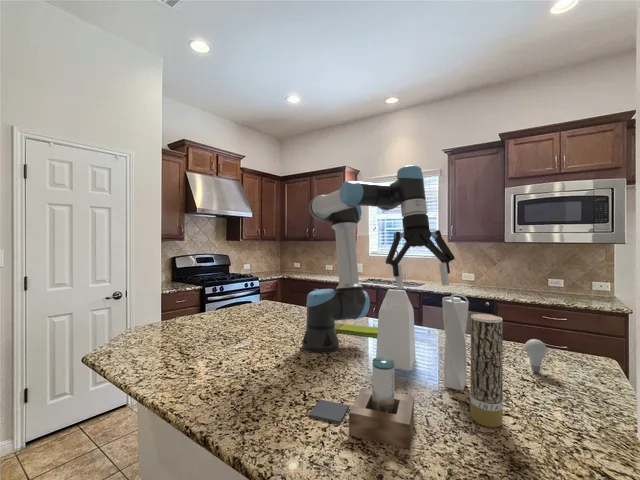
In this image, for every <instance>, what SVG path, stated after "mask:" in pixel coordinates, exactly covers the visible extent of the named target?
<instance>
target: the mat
mask: <svg viewBox="0 0 640 480" xmlns="http://www.w3.org/2000/svg"><path fill="white" fill-rule="evenodd" d="M349 408H350V404H346V403H345V404H344V403H339V402H335V401H329V400H324V399H319V400H318V402H317V403H316V404H315V406H314V407H313V408H312V410H311V411H310V413H309V414H308V417H309V418H312V419H316V420H322V421H326V422H328V423H335V424H340V425H341V423H342V421H343V420H344V418H345V417H346V414H347V413H348V412H349V411H348V410H349Z"/></svg>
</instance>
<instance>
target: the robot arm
mask: <svg viewBox="0 0 640 480" xmlns="http://www.w3.org/2000/svg"><path fill="white" fill-rule="evenodd" d="M396 178H397V179H396V180H395V181H394V182H392V183H390V184H387V183H386V184H385V183H373V182H365V181H357V180H351V181H349V180H347V181H344V182H343V183H342V185H341V186H340V188H339V189H338V190H335V191H333V192H330V193H328V194H319V195H317V196H314V197H313V198H311V201H310V203H309V205H308V210H309V213H310V215H311V217H313V218H314V219H315V220H316V221H318V222H321V223H331V228H332V229H333V230H334V231H335V232H334V233H335V244H336V245H335V247H336V259H337V261H336V262H337V274H338V285H337V286H336V288H335V290H334V289H333V288H321V289H316V290H312V291H310V292H309V293H307V296H306V304H305V305H306V329H305V332H304V334H303V339H302V341H301V348H302V349H303V351H305V352H309V353H314V354H329V353H333V352H336V351H337V350H339V348H340V342H339V338H338V335H337V334H338V333H336V331H335V323H336V321H346V320H347V321H348V320H357V319H362V318H364V317H366V316H367V314H368V313H369V309H370V304H371V301H370V296H369V294H368V291H365V290H364V287H363V285H362V284H361V283H360V279H359V269H358V257H357V255H358V254H357V247H356V246H357V245H356V234H355V232H356V231H355V229H356V228H357V227H358V223H359V222H360V221H361V219H362V206H363V207H366V206H367V207H378V209H380V210H381V211H385V212H386V211H390V210H394V209H396V208H397V207H399V206H400V211H401V213H400V214H401V217H402V220H401V221H402V228H403V232H400V231H396V232H395V233H393V241H392V243H391V246H390V248H389V249H390V250H389V251H388V255H387V257H386V260H385V264H386V265H390V266H391V267H392V274H393V277H394V278H396V283H397V284H396V285H397V289H404V278H403V271H402V270H403V269H402V265H401V264H399V263H400V262H401V261H402V259H403V258H404V256H405V255H406V253H407V251H408V250H409V249H410V248H411V247H412V248H415V247H421V248H422V247H425V248H426V249H428V250H429V251H430V252H431V254H433V256H435V257H436V258H437V259H438V260H439V261H440V262H441V263H439V271H440V278H441V279H440V280H441V285H442V286H443V287H446V286H450V282H449V274H450V273H451V270H450V262H452V261H454V260H455V258H456V257H455V255H454V254H453V253H452V251H451V249H450V248H449V246H448V244H447V243H446V241H445V239H444V238H443V237H442V233H441V231H440V229H437V230H434V231H431V230H430V222H429V221H430V220H429V215H428V206H427V205H428V204H427V200H426V190H425V183H424V179H425V178H424V176H423V171H422V168H421V167H420V166H419V165H413V164H411V165H406V166H402V167H400V168H399V169H398V170H397V172H396ZM431 237H432V239H434V241H435V243H436V245H437V246H436V245H435V243H434V242H433V241H432V240H431ZM402 238H403V239H404V240H405V242H404V244H403V246H402V247H401V249H400V251H399V252H398V253H397V255H396V252H397V249H398V247H399V245H400V241H401V240H402ZM395 255H396V256H395ZM394 257H395V258H394Z"/></svg>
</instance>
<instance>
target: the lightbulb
mask: <svg viewBox="0 0 640 480" xmlns="http://www.w3.org/2000/svg"><path fill="white" fill-rule="evenodd" d="M524 349H525V352H526V354H527V355H528V358H529V363H530V370H531V371H532V372H534V373H539V372H541V366H542V363H543V359H544V358H545V357H546V355H547V352H548V350H547V349H548V348H547V346H546V344H545V343H544V342H543V341H541V340H540V339H536V338H532V339H529V340H527V341H526V342H525V345H524Z"/></svg>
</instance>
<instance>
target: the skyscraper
mask: <svg viewBox="0 0 640 480" xmlns="http://www.w3.org/2000/svg"><path fill="white" fill-rule="evenodd" d="M461 298H463V299H465V300H462V299H461ZM469 303H470V302H469V299H468V298H467V297H466V296H465V295H463V294H459V293H456V294H455V293H454V294H451V295H450V296H444V297H442V321H443V327H444V328H443V329H444V335H445V340H444V354H443V358H444V359H443V383H444V387H445V388H449V389H454V390H458V391H461V392H464V390H465V389H464V388H465V386H466V385H467V368H468V363H467V360H468V359H467V345H466V344H467V343H466V338H465V337H466V336H465V334H466V329H467V325H468V324H467V323H468V317H469V316H468V315H469Z"/></svg>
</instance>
